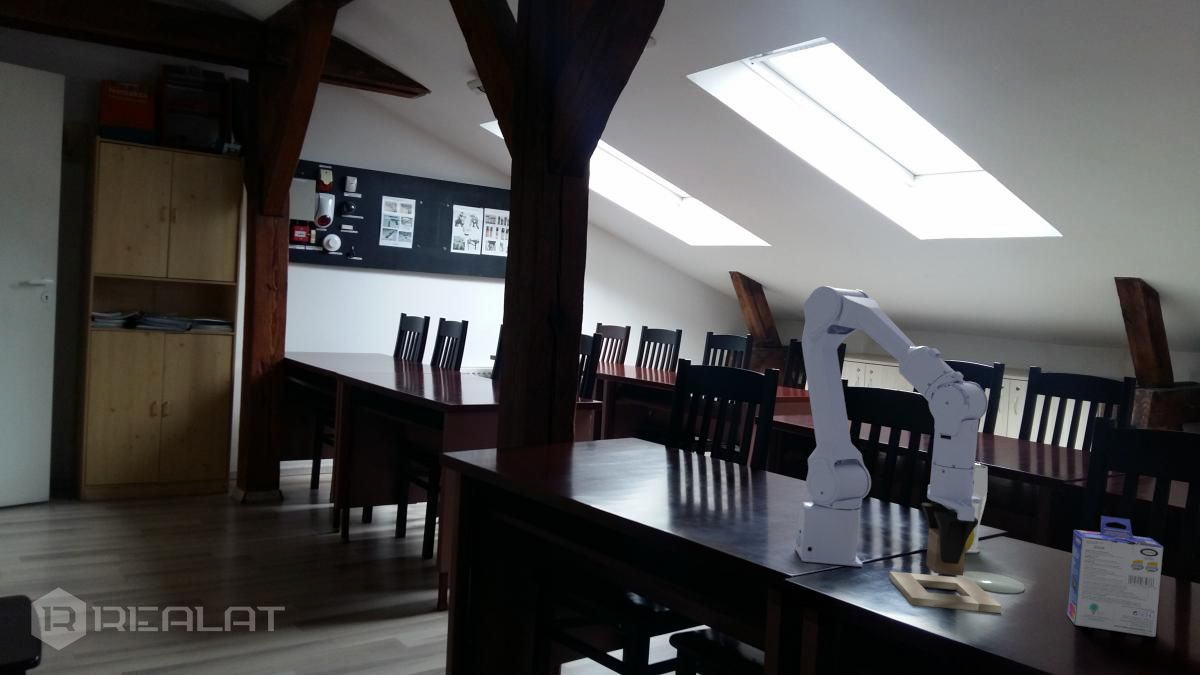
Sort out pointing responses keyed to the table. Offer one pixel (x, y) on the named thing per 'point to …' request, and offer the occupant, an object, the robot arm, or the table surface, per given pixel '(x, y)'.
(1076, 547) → the ink cartridge box
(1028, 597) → the table surface
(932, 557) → the walnut block
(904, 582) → the pocket block
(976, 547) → the beer glass
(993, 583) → the disc
